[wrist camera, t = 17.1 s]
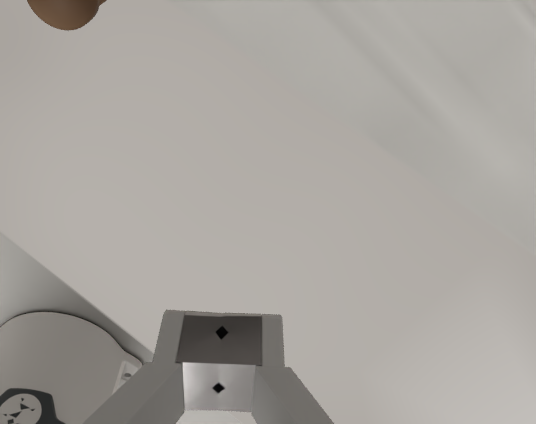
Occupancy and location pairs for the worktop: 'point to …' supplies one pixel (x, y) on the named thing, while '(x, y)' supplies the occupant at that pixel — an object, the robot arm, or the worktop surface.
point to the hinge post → (65, 12)
